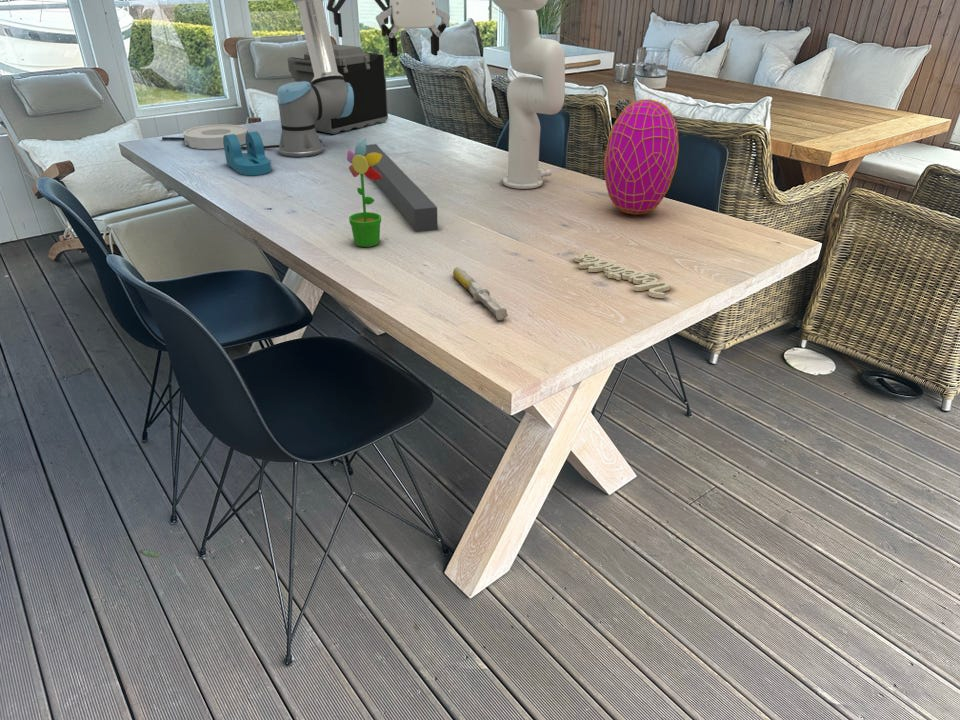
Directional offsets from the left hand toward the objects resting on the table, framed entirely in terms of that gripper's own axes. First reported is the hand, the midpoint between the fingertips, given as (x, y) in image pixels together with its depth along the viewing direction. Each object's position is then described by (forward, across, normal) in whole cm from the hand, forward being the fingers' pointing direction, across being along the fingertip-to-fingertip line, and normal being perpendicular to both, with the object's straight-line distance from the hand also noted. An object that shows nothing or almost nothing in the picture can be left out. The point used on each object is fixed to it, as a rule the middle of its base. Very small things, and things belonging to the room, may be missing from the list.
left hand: (362, 36), depth 213 cm
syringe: (+40, 0, +110) cm, 117 cm away
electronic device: (+40, -2, -68) cm, 79 cm away
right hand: (-2, 0, +63) cm, 63 cm away
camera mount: (+40, +39, -9) cm, 57 cm away
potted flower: (+40, +16, +71) cm, 83 cm away
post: (+40, 0, +31) cm, 51 cm away
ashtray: (+40, +48, -51) cm, 81 cm away
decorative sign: (+40, -35, +109) cm, 121 cm away
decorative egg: (+40, -60, +71) cm, 101 cm away
